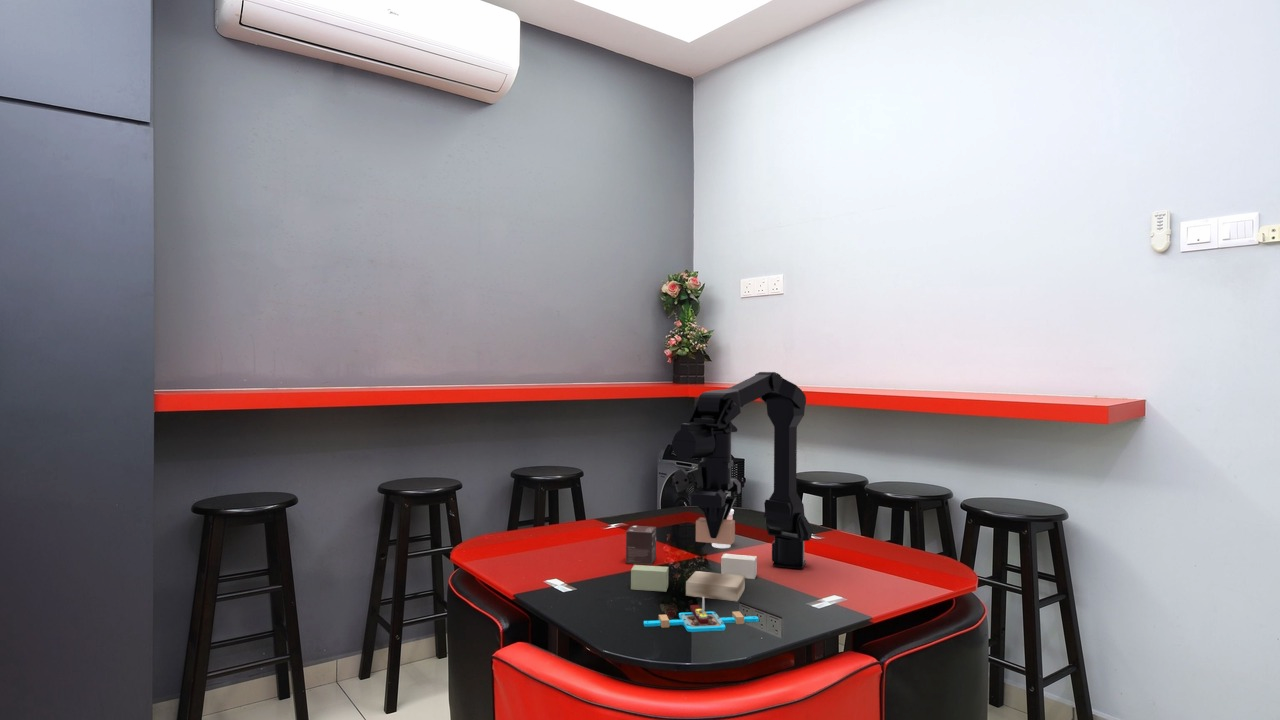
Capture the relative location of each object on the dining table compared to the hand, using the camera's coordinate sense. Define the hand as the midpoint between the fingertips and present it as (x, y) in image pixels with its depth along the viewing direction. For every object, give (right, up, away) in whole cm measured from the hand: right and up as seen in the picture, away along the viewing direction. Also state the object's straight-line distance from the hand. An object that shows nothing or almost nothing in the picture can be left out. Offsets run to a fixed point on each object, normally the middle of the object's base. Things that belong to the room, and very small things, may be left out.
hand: (715, 535), depth 138 cm
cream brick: (+6, -11, +11) cm, 17 cm away
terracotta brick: (0, -1, 0) cm, 1 cm away
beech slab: (0, -11, 0) cm, 11 cm away
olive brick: (-13, -11, +2) cm, 17 cm away
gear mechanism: (-4, -12, -16) cm, 20 cm away
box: (-15, -11, +22) cm, 29 cm away
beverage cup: (+5, -12, +36) cm, 38 cm away
